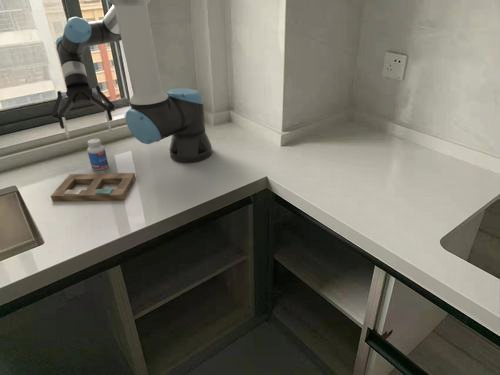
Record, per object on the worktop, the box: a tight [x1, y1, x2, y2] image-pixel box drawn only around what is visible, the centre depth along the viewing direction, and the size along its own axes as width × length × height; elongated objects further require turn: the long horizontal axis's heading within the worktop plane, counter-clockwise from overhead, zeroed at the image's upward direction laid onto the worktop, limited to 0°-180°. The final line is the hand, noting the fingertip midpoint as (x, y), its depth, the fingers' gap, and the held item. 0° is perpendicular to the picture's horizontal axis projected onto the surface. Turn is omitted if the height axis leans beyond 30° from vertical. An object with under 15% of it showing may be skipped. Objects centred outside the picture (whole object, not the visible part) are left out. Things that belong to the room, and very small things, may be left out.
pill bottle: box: [86, 138, 109, 171], centre depth 123 cm, size 6×5×10 cm
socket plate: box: [50, 172, 137, 203], centre depth 112 cm, size 21×13×2 cm, turn 90°
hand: (89, 132), depth 125 cm, fingers open, 13 cm apart
